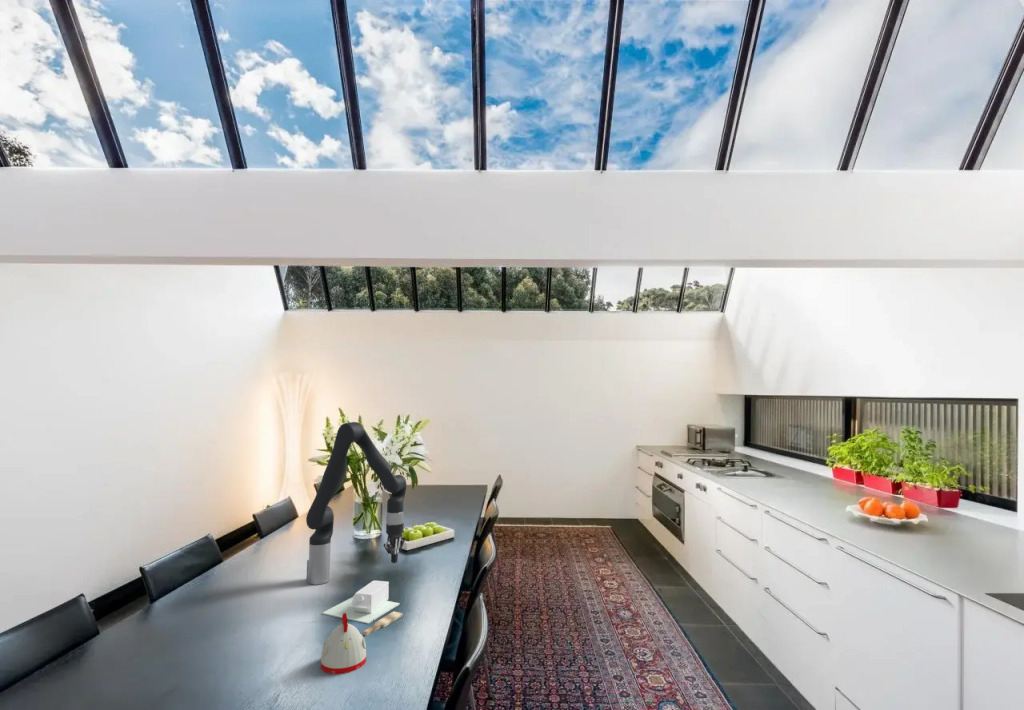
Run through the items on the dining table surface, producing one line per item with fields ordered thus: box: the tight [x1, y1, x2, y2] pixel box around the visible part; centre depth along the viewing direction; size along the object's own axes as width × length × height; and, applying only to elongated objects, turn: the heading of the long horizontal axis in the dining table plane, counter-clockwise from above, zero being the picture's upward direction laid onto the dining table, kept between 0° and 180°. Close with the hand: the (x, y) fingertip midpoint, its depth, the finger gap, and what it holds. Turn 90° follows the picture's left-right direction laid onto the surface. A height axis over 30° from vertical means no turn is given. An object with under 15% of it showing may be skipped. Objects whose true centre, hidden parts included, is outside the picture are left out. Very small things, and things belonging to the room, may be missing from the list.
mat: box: [321, 595, 401, 625], centre depth 211 cm, size 22×20×1 cm
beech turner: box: [362, 611, 404, 636], centre depth 198 cm, size 20×4×1 cm, turn 157°
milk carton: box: [349, 580, 390, 614], centre depth 212 cm, size 7×7×19 cm
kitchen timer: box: [320, 613, 367, 675], centre depth 170 cm, size 14×14×15 cm
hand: (394, 562), depth 231 cm, fingers closed
